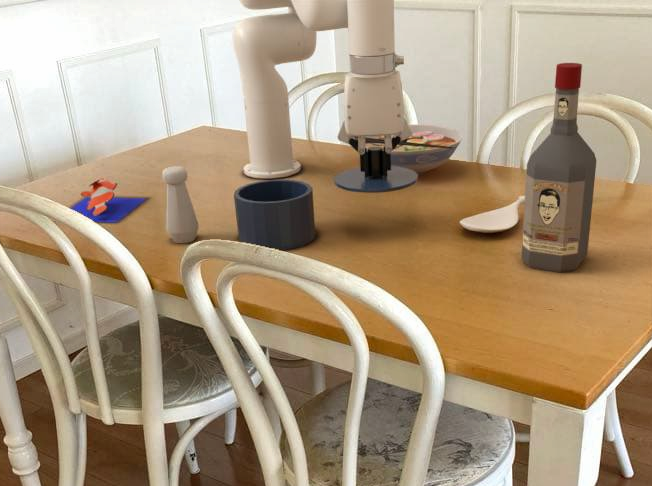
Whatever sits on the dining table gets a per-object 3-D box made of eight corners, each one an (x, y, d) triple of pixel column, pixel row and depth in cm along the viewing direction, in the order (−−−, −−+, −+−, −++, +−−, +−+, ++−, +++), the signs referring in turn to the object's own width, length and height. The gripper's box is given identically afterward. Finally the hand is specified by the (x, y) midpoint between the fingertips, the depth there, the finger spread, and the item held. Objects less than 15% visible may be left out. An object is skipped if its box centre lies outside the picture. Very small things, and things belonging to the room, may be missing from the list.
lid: (334, 174, 162) (333, 139, 159) (415, 170, 162) (414, 136, 158) (333, 198, 149) (331, 161, 146) (420, 194, 149) (420, 157, 146)
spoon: (591, 198, 168) (593, 180, 167) (490, 245, 149) (491, 225, 148) (551, 190, 174) (553, 172, 172) (449, 234, 155) (449, 215, 153)
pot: (243, 226, 163) (238, 181, 159) (316, 223, 163) (313, 177, 159) (235, 252, 152) (230, 204, 147) (314, 249, 151) (310, 201, 147)
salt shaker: (169, 235, 161) (158, 164, 154) (200, 232, 161) (191, 162, 155) (166, 246, 156) (155, 173, 149) (198, 243, 156) (189, 171, 150)
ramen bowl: (482, 162, 193) (484, 124, 189) (442, 192, 176) (442, 151, 172) (380, 153, 203) (379, 117, 199) (333, 180, 186) (330, 141, 182)
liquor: (536, 247, 147) (549, 58, 132) (590, 255, 143) (609, 61, 128) (516, 266, 141) (527, 69, 125) (572, 275, 136) (591, 72, 121)
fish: (90, 173, 179) (128, 174, 178) (94, 196, 182) (132, 197, 180) (59, 193, 168) (101, 193, 167) (65, 217, 171) (105, 218, 169)
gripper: (419, 58, 148) (420, 167, 158) (324, 63, 149) (330, 171, 158) (423, 66, 142) (423, 179, 151) (323, 71, 142) (329, 183, 152)
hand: (375, 174), depth 155 cm, fingers closed on lid, 2 cm apart
